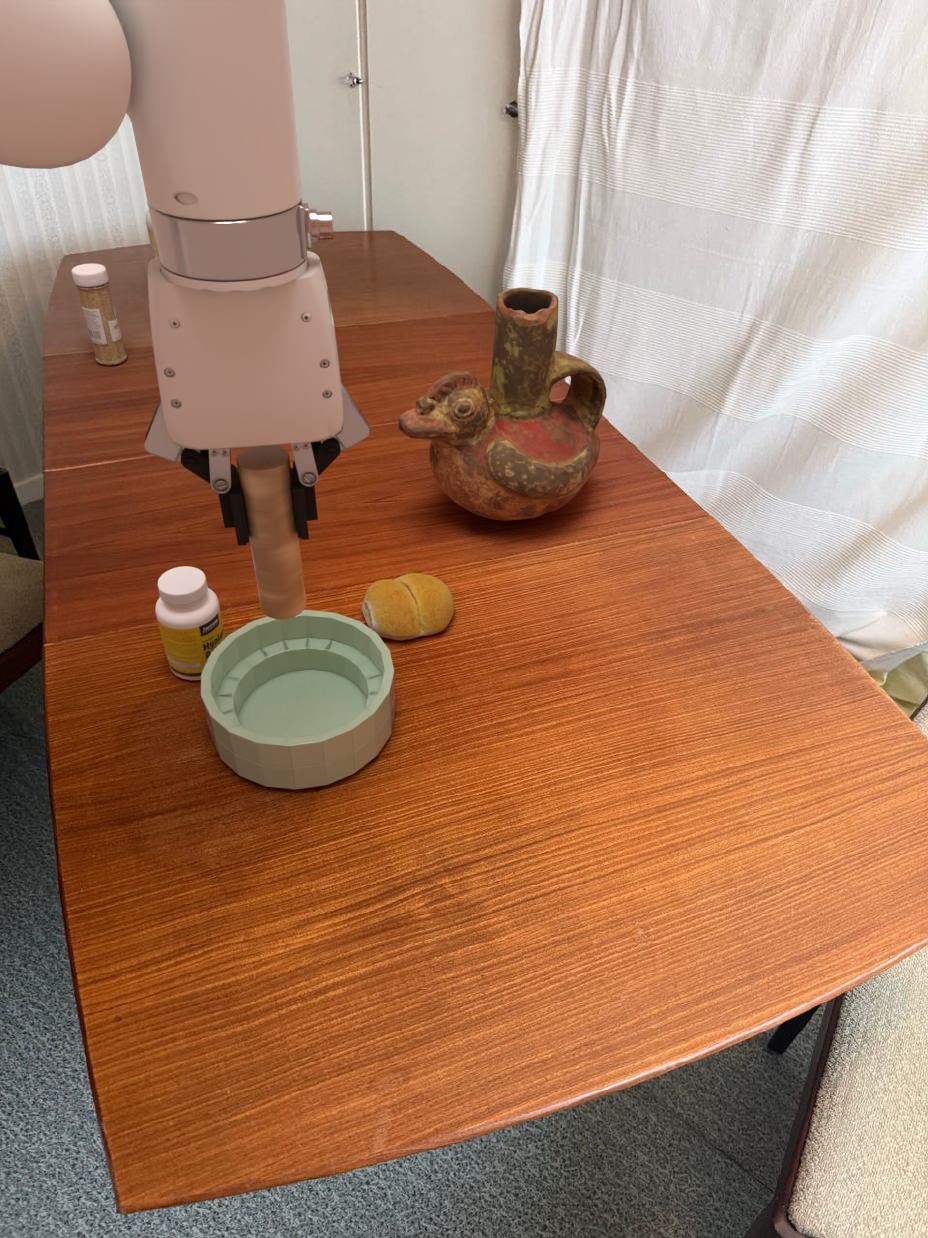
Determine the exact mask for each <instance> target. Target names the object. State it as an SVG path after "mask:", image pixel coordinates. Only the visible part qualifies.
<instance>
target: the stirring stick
mask: <svg viewBox="0 0 928 1238" xmlns="http://www.w3.org/2000/svg"><path fill="white" fill-rule="evenodd" d="M235 459H236V461H235V462H236V468H237V469H238V473H239V479H240V485H241V489H242V495H243V501H244V507H245V513H246V519H247V525H248V531H249V544H250V545H249V546H250V550H251V551H250V552H251V556H252V557H251V558H252V562H253V570H254V574H255V581H256V587H257V593H258V598H259V604H260V605H259V606H260V609H261V612H262V613H263V614H264V615H265V617H267V616H268V617H270V618H273V619H289V618H292V617H295V616H297V615H299V614H300V613H301V612H302V611H303V610H306V607H307V594H306V587H305V585H306V584H305V579H304V568H303V561H302V551H301V543H300V538H298V534H297V526H296V517H295V509H294V501H293V492H292V483H291V482H292V475H291V468H292V467H291V459H290V454H289V452H288V451H287V450H286V449H285V448H284V447H282V446H280V445H271V446H258V447H245V448H244V449H243V450H241V451H240V452H239V453H238V454H237V455H236V458H235Z"/></svg>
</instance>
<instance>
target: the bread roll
mask: <svg viewBox="0 0 928 1238" xmlns="http://www.w3.org/2000/svg"><path fill="white" fill-rule="evenodd" d="M365 590H366V591H365V593H364V595H365V596H364V597H363V602H362V605H361V610H362V614H363V617H364V620H365V624H367V627H369V628H370V629H372V630H373V631H375V632H376V633H377V634H378V635H379V637H380V638H384V639H389V640H394V641H405V640H406V641H407V640H413V639H416V638H419V637H423V636H424V637H425V636H432V635H435V634H438V633H441V632H442V631H444V630H445V629H446V628H447V627H448V625H449V624H450V622H451V620H452V618H453V616H454V615H453V614H454V610H455V600H454V597H453V595H452V592H451V590H450V589H449V587H448V586H447V584H445V583H444V581H442V580H441V579H440V578H437V577H436V576H432V575H430V574H424V573H419V572H418V573H415V572H410V573H407V574H403V575H401V576H399V577H397V578H394V579H387V578H386V579H379V580H376V581H374V582H373V583H372V584H371V585H369V587H368V588H367V589H365Z"/></svg>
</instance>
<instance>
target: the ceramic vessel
mask: <svg viewBox="0 0 928 1238" xmlns="http://www.w3.org/2000/svg"><path fill="white" fill-rule="evenodd" d="M558 328H559V297H558V295H557V294H555V293H554V292H552V291H549V290H546V289H538V288H537V289H536V288H531V287H514V288H508V289H504V290H502V291H500V292H499V293H498V295H497V296H496V306H495V318H494V335H493V336H494V337H493V348H492V359H491V372H490V380H489V381H490V382H489V389H488V392H487V393H486V391H485V388H484V387H483V385H482V384H481V383H480V381H479V380H478V378H477V377H476V376H475V374H473V373H472V372H470V371H469V370H468V371H467V370H455V371H452V372H448V373H446V374H444V375H443V376H442V377H439V378H438V379H437V380H436V381H435V382H434V383H433V384H431V385H430V387H429V389H428V390H427V392H426V393H425V394H424V395H421V396H420V397H419V398H418V399H417V400H416V401H415V407H414V408H411V409H409V410H407V411H404V412H402V414H401V415H400V416H399V417H398V418H397V422H398V430H399V431H400V432H401V433H403V434H404V435H405V436H407V437H408V438H410V439H414V440H418V439H419V440H420V439H421V440H430V443H429V449H428V459H429V465H430V470H431V473H432V476H433V477H434V479H435V481H436V483H437V485H438V487H439V488H440V489H441V490H442V492H443V493H444V494H445V495H446V496H447V497H448V498H449V499H450V500H452V502H454V503H455V504H457V505H458V506H460V507H461V508H463V509H465V510H466V511H468V512H470V513H471V514H473V515H476V516H478V517H481V518H484V519H489V520H493V521H501V522H508V521H520V520H521V521H522V520H532V519H536V518H539V517H541V516H544V515H545V514H548V513H552V512H556V511H557V510H560V509H561V508H562V507H563V506H566V505H567V504H568V503H570V501H571V500H573V499H574V498H575V497H576V496H577V494H578V493H579V492H580V490H581V489H582V488H583V486H585V484H586V482H587V481H588V479H589V478H590V476H591V475H592V473H593V472H594V469H595V468H596V465H597V463H598V460H599V456H600V451H601V439H600V437H599V436H600V435H598V433H597V432H595V431H596V429H597V427H598V425H599V423H600V420H601V418H602V416H603V412H604V409H605V405H606V401H607V398H608V397H607V387H606V383H605V380H604V378H603V376H602V375H601V374H600V372H599V370H597V368H596V367H594V366H593V365H591V364H590V363H588V362H587V361H584V360H583V359H581V358H579V357H577V356H575V355H573V354H570V353H566V352H564V351H560V350H557V342H558V341H557V340H558ZM569 377H570V380H569V387H568V390H567V393H566V395H565V397H564V398H563V399H562V401H561V402H556V401H552V400H551V398H550V394H551V392H552V388H553V386H554V385H555V384H557V383H559V382H560V381H561V380H564V379H566V378H569Z"/></svg>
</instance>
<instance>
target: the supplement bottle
mask: <svg viewBox="0 0 928 1238" xmlns="http://www.w3.org/2000/svg"><path fill="white" fill-rule="evenodd" d="M157 589H158V594H159V597H158V599H157V601H156V603H155V608H154V610H155V617H156V621H157V625H158V629H159V632H160V636H161V640H162V645H163V648H164V653H165V655H166V660H167V664H168V667H169V669H170V671H171V672H172V673H173V674H174V676H176V677H178V678H180V679H183V680H187V681H201V674H202V671H203V669H204V667H205V665H206V663H207V661H208V658H209V656H210V654H211V652H212V651H213V650H214V649H215V648H216V647H217V646H218V645H219V644H220V643H221V642H222V641H223V640H224V639H225V638H226V637H227V636H226V633H225V627H224V622H223V616H222V611H221V606H220V602H219V597H218V596H217V594H216V592H214V591H213V590H212V589H211V588H210V587H208V582H207V577H206V574H205V573H204V571H202V570H201V569H199V568H198V567H194V566H188V565H187V566H186V565H185V566H183V565H181V566H177V567H172V568H171V569H168V570H167V571H165V572H163V573H162V574H161V575H160V576H159V578H158V580H157Z"/></svg>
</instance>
